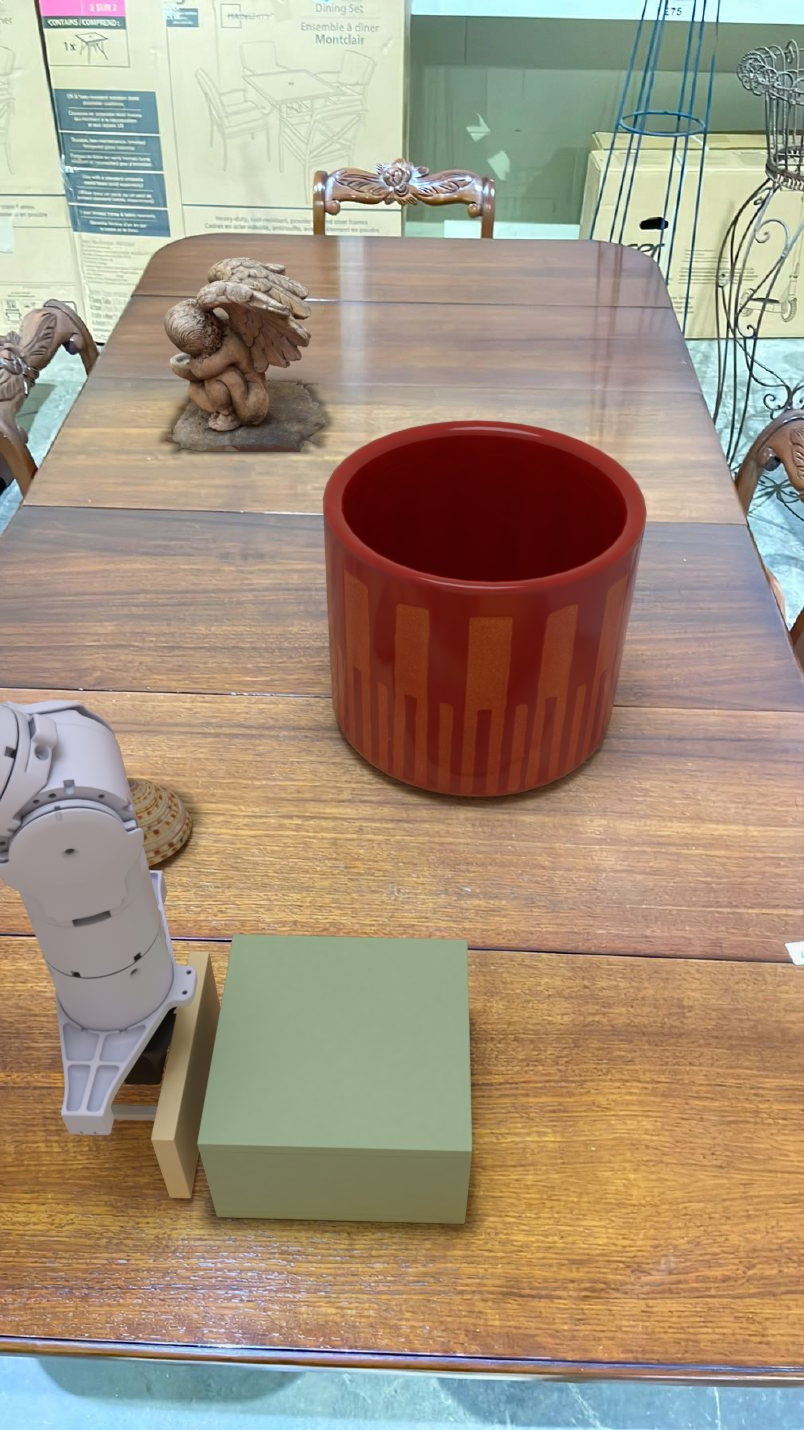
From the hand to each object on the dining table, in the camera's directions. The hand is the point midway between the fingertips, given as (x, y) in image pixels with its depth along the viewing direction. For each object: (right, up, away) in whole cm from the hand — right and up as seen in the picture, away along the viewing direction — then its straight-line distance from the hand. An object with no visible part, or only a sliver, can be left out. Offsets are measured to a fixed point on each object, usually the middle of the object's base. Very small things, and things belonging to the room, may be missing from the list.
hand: (144, 1073), depth 61 cm
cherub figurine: (-3, +56, +67) cm, 87 cm away
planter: (+20, +21, +29) cm, 41 cm away
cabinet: (+11, -3, +2) cm, 12 cm away
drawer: (+6, -2, +2) cm, 6 cm away
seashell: (-5, +11, +18) cm, 22 cm away
